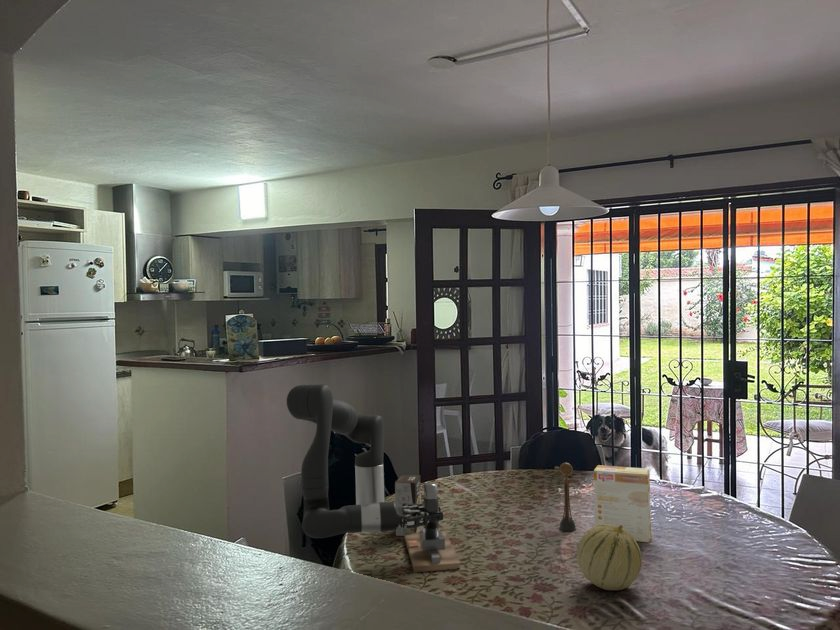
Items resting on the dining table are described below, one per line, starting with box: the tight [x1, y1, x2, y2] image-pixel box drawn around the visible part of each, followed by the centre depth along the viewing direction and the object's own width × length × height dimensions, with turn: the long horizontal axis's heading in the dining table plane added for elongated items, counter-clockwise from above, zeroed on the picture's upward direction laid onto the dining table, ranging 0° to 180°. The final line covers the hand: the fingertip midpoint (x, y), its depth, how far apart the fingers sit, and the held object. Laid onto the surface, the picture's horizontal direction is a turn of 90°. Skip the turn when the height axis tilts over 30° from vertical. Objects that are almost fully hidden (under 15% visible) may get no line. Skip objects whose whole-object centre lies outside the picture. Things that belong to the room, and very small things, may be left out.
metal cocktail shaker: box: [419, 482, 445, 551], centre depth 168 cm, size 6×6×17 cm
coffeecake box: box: [593, 464, 652, 543], centre depth 181 cm, size 15×7×20 cm, turn 65°
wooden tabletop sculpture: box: [554, 462, 577, 532], centre depth 188 cm, size 6×5×20 cm
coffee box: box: [394, 474, 423, 537], centre depth 190 cm, size 9×6×16 cm
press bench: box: [404, 527, 461, 573], centre depth 172 cm, size 24×12×3 cm, turn 7°
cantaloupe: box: [576, 524, 643, 591], centre depth 148 cm, size 15×15×15 cm
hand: (441, 513), depth 169 cm, fingers closed on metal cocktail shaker, 4 cm apart
